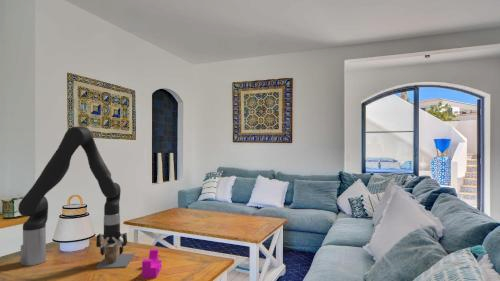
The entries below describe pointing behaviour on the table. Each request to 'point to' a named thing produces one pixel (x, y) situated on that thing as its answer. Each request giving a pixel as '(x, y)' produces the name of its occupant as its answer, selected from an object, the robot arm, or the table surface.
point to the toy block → (151, 265)
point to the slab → (111, 253)
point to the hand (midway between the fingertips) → (112, 254)
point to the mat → (117, 262)
